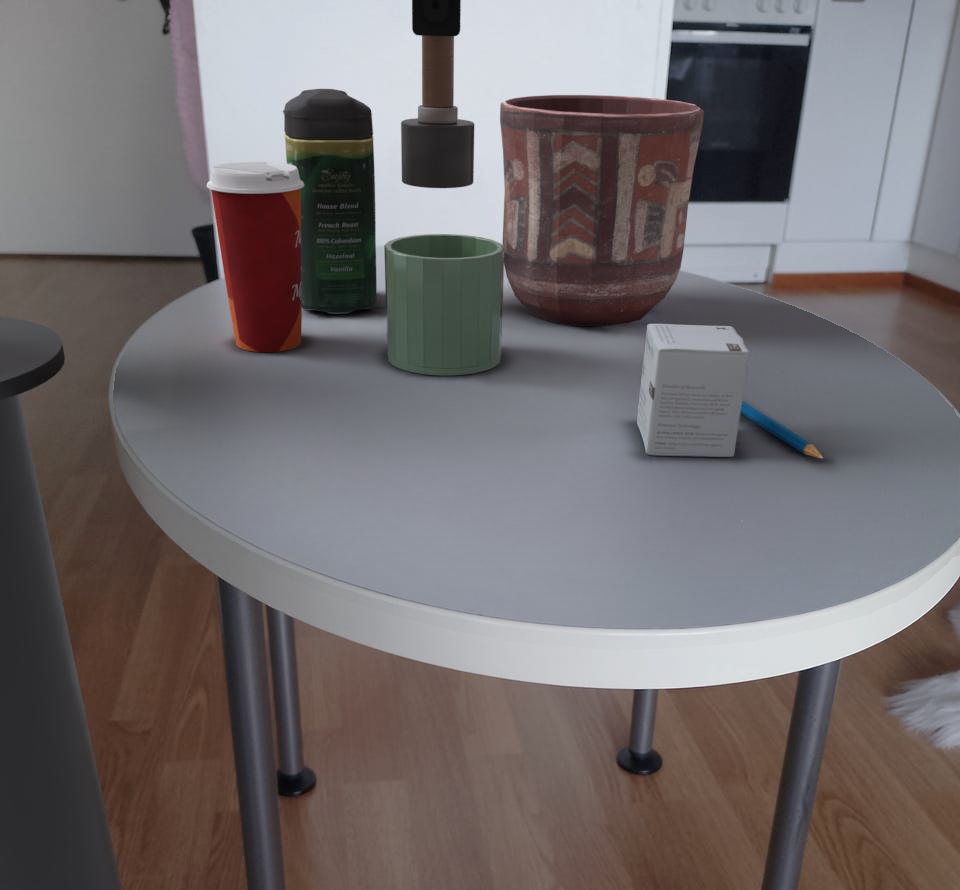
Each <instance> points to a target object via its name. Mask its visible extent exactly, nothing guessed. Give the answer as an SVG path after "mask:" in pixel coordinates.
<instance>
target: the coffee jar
mask: <svg viewBox="0 0 960 890" xmlns="http://www.w3.org/2000/svg"><path fill="white" fill-rule="evenodd" d="M282 112H283V116H284V119H283V121H284V126H283V127H284V129H283V131H284V141H285V144H284V145H285V159H286V164H290V165H294V166H296V167H297V169H298V172H299V177H300V180H302V181H303V183H304V187H302V188H301V286H302V310H303V309H304V310H305V311H318V312H326V313H327V314H329V315H347V314H350V313H353V312H355V311H361V310H369V309H372V308H373V307H374V306H375V304H376V302H377V297H378V296H377V290H378V289H377V244H376V239H377V237H376V230H377V229H376V227H377V226H376V225H377V224H376V181H375V179H376V177H375V176H376V175H375V150H374V149H375V148H374V147H375V146H374V136H373V135H374V129H373V128H374V127H373V114H372V113H373V112H372V109H371V108H370V107H369V106H368V105H367V104H365V103H364V102H362V101H360V100H358V99H356V98H355V97H352V96H350V95H348V93H347V92H346V91H344V90H339V89H333V88H314V89H313V88H312V89H306V90H302V91H301V92H300V94H298V95H297V96H295V97H292V98H291V99H289V100H288V101H287V102H286V103H285V105H284V110H282Z"/></svg>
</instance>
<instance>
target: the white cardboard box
mask: <svg viewBox="0 0 960 890" xmlns="http://www.w3.org/2000/svg"><path fill="white" fill-rule="evenodd" d="M645 334H646V335H645V344H644V345H645V346H644V353H643V360H642V361H643V362H642V371H641V380H640V388H639V397H638V407H637V417H636V424H637V427H638V429H639V432H640V435H641V438H642V441H643V445H644V451H645V454H647V455H649V456H657V457H658V456H660V457H704V458H705V457H706V458H712V457H713V458H733V457H734V456H735V453H736V444H737V438H738V432H739V424H740V420H741V419H740V418H741V413H740V412H741V406H742V401H744V400H743V399H744V393H745V386H746V380H747V373H748V367H749V360H750V354H751V353H750V351H749V349H748V348H747V346H746V344H745V342H744V339H743V337H742V336H740V334H739V333H738V332H737V331H736V329H735V328H734V326H731V325H697V324H694V325H693V324H677V323H676V324H675V323H674V324H673V323H648V324H647V326H646V333H645Z"/></svg>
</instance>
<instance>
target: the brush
mask: <svg viewBox="0 0 960 890" xmlns="http://www.w3.org/2000/svg"><path fill="white" fill-rule="evenodd" d="M454 78H455V36H421V104H419V105H418V106H417V118H407V119H404V120H401V121H400V132H401V133H400V140H401V143H400V144H401V146H400V147H401V182H402V183H403V184H405V185H407V186H412V187H417V188H424V189H425V188H426V189H455V188H456V189H458V188H465V187H469V186H472V185H473V184H474V176H475V175H474V173H475V172H474V171H475V168H474V167H475V122H473V121H472V120H467V119H462V118H461V119H460V118H458V117H459V116H458V115H459V114H458V113H459V111H458V110H459V109H458V106H456V105H454V96H455V94H454V93H455V91H454V90H455V89H454V87H455V86H454V85H455V79H454Z"/></svg>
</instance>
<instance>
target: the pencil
mask: <svg viewBox="0 0 960 890" xmlns="http://www.w3.org/2000/svg"><path fill="white" fill-rule="evenodd" d="M740 415H742V416H744V417H746V418H747V419H749V420H750V421H752V422H754V423H755V424H757V425H758V426H760V427H762V428H763V429H765V430H766V431H768V432H770V433H771V434H773V435H774V436H776V438H777V437H778V439H780V440H782V441H783V442H785V443H786V444H788V445H789V446H791V447H792V448H794V449H796V450H798V451H799V452H800V453H802V454H804V455H805V456H806V455H807V456H810V457H814V458H818V459H824V457H823V455H822V454H821V452H820V451H819V450H818V449H817V448H816V447H815V445H814V444H813V443H812V442H810V441H808V440H806V439H805V438H804V437H802V436H800V435H799V434H797V433H795V432H793V431H792V430H791V429H789V428H787V427H786V426H784V425H782V424H781V423H779V422H777V421H776V420H774V419H773V418H771V417H769V416H768V415H766V414H765V413H763V412H761V411H760V410H758V409H757V408H755V407H753V406H751V405H750V404H749V403H747V402H746V401H744V400H742V406H741V412H740Z"/></svg>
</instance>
